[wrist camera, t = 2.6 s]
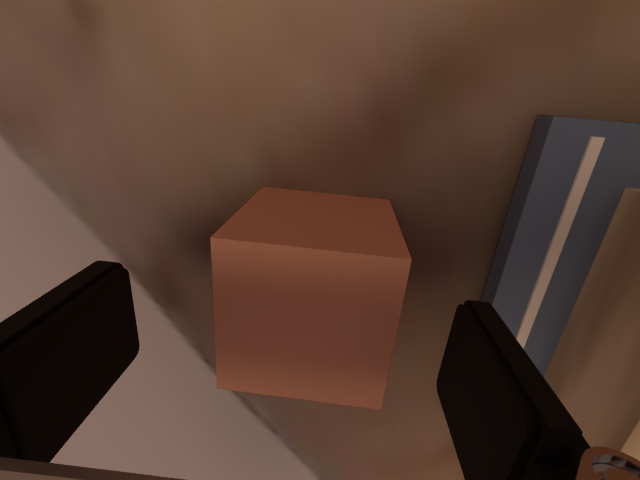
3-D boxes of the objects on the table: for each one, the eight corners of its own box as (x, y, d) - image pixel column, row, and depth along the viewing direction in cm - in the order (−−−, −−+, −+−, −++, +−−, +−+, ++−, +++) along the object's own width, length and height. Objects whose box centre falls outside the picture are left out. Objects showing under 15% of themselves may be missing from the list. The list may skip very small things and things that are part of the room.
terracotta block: (389, 199, 13) (411, 259, 8) (371, 307, 15) (380, 410, 10) (263, 186, 14) (210, 237, 9) (261, 294, 16) (217, 388, 10)
